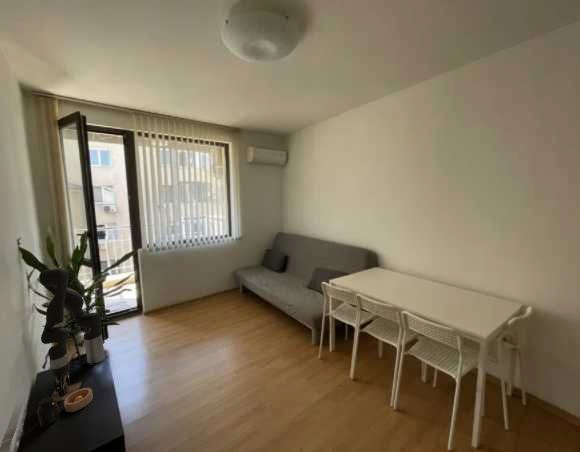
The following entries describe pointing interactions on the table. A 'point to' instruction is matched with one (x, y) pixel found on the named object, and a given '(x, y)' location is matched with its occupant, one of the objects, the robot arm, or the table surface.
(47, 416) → the supplement bottle
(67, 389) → the lid
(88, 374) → the table surface
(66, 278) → the robot arm
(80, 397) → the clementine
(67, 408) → the bowl
